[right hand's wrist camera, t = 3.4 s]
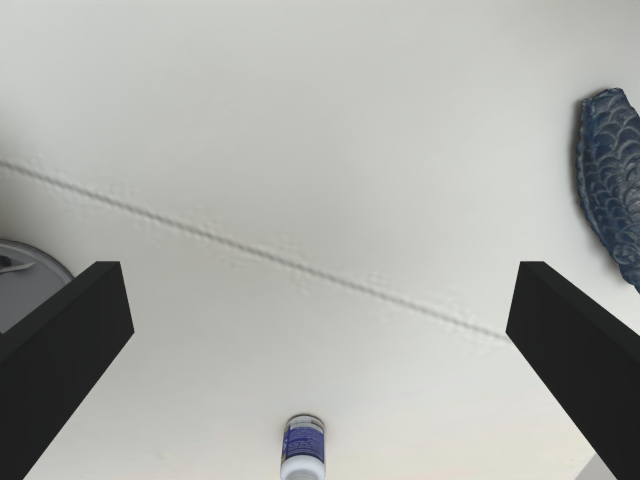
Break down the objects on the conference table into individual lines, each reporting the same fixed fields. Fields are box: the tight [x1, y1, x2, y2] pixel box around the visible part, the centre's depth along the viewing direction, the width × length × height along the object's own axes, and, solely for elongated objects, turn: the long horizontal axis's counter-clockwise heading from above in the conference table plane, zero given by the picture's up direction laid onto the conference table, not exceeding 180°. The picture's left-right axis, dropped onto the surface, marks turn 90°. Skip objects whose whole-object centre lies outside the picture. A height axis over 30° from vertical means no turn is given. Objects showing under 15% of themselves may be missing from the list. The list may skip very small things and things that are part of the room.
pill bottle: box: [280, 416, 326, 480], centre depth 45 cm, size 5×5×9 cm
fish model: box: [575, 88, 640, 294], centre depth 36 cm, size 7×21×5 cm, turn 27°
